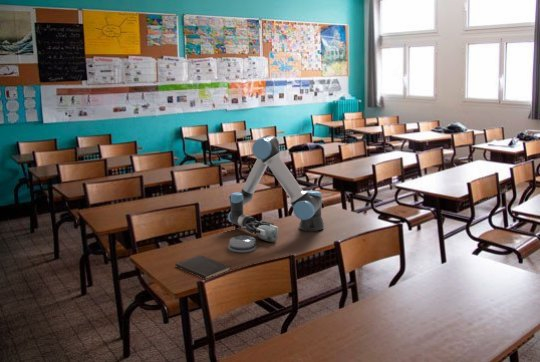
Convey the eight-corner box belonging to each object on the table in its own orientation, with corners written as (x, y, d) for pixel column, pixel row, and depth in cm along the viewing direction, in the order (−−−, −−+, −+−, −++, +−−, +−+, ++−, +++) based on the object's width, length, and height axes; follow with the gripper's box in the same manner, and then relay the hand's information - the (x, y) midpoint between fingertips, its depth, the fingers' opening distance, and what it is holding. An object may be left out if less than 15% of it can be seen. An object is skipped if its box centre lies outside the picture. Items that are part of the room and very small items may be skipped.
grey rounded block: (283, 235, 292) (274, 221, 289) (272, 246, 288) (262, 232, 285) (271, 234, 304) (262, 221, 301) (259, 245, 299) (250, 231, 297)
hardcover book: (200, 258, 270) (200, 254, 269) (230, 270, 255) (230, 266, 254) (175, 267, 259) (175, 263, 258) (205, 280, 243) (205, 276, 243)
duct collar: (245, 240, 294) (245, 233, 293) (263, 248, 282) (263, 240, 281) (222, 247, 285) (222, 239, 284) (239, 255, 273) (239, 247, 272)
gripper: (261, 224, 316) (285, 233, 299) (232, 231, 302) (256, 242, 285) (261, 212, 314) (285, 221, 297) (231, 219, 301) (255, 229, 284)
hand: (271, 231), depth 291 cm, fingers closed on grey rounded block, 9 cm apart
